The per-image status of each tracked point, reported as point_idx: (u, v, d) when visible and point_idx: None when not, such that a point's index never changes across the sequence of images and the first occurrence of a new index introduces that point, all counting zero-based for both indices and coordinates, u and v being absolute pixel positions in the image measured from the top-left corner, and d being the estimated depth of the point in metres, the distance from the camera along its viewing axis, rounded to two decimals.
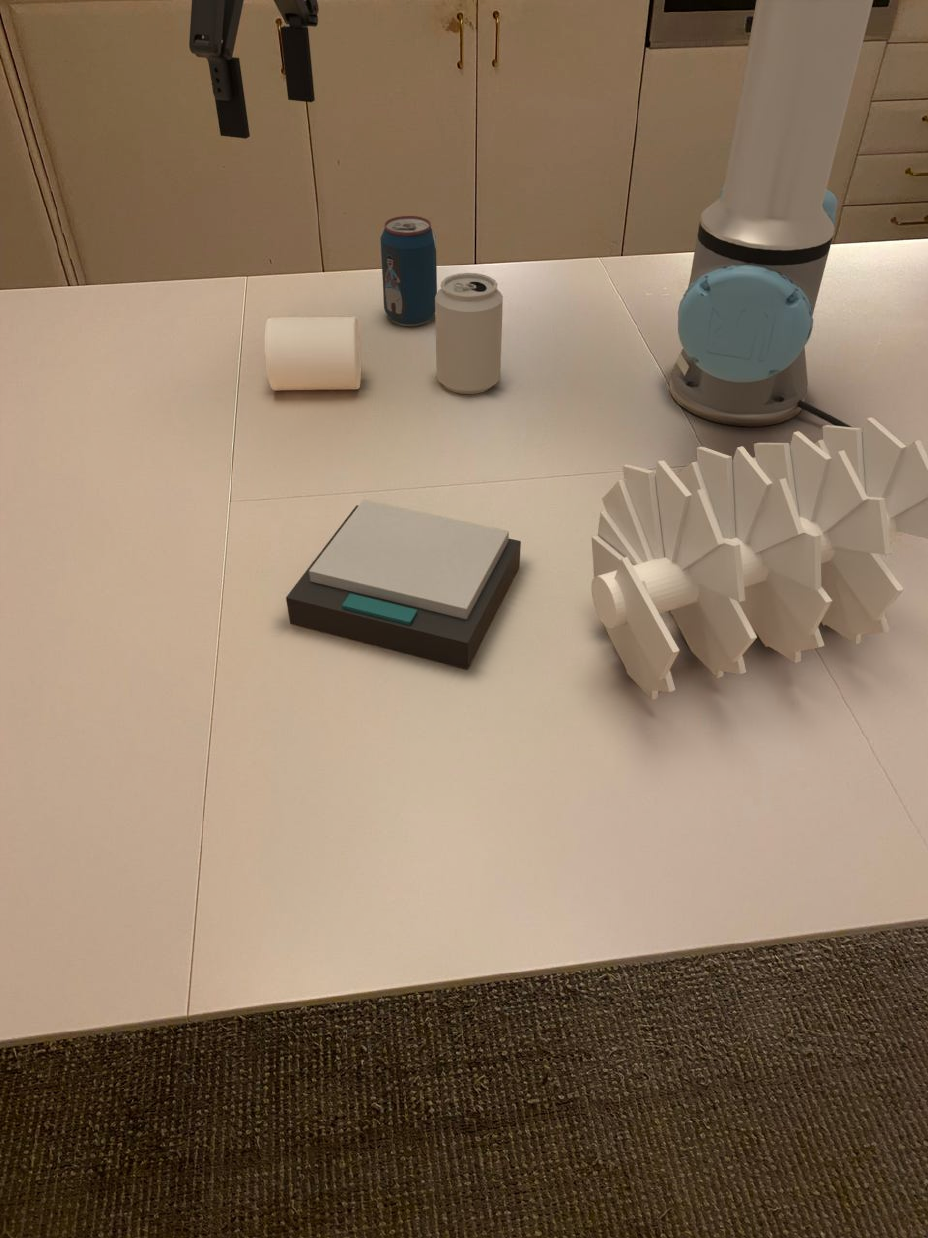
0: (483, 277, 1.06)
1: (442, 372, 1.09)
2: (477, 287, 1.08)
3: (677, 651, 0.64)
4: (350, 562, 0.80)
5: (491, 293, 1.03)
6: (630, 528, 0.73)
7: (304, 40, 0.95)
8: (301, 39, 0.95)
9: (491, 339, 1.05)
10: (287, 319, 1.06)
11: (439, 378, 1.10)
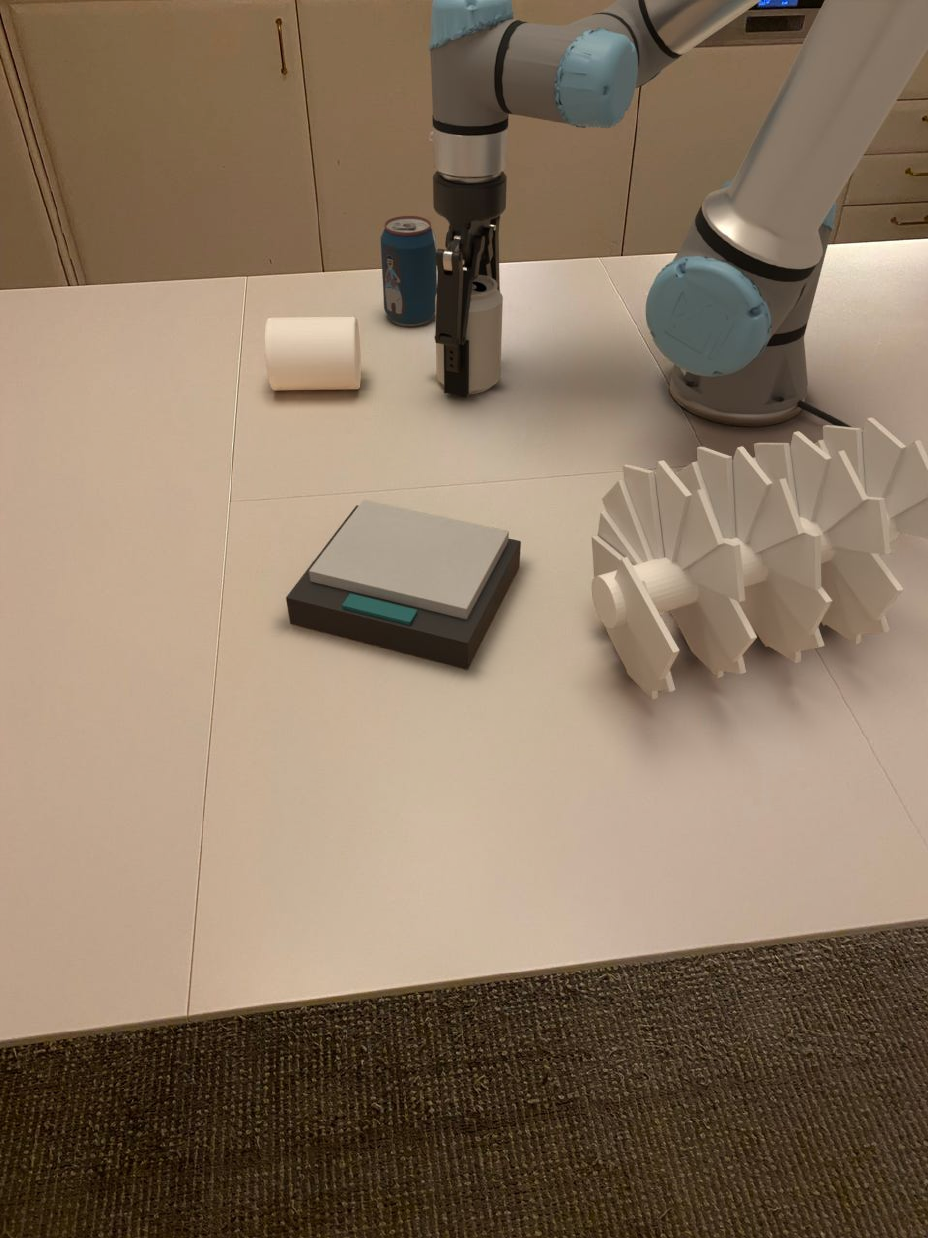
0: (483, 277, 1.06)
1: (442, 372, 1.09)
2: None
3: (677, 651, 0.64)
4: (350, 562, 0.80)
5: (491, 293, 1.03)
6: (630, 528, 0.73)
7: None
8: None
9: (491, 339, 1.05)
10: (287, 319, 1.06)
11: (439, 378, 1.10)
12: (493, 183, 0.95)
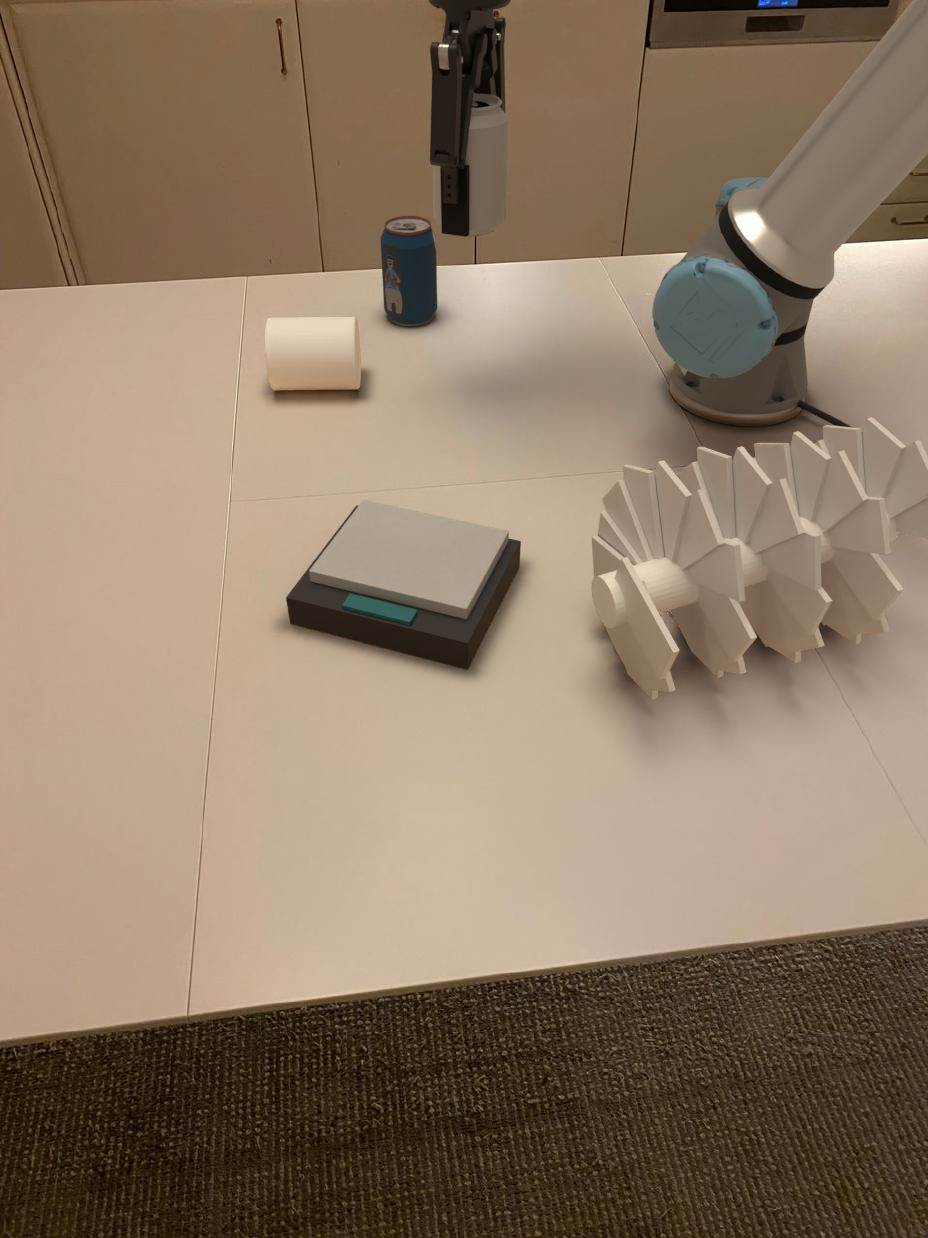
0: (485, 96, 0.93)
1: (439, 210, 0.96)
2: None
3: (677, 651, 0.64)
4: (350, 562, 0.80)
5: (494, 108, 0.90)
6: (630, 528, 0.73)
7: None
8: None
9: (495, 166, 0.92)
10: (287, 319, 1.06)
11: (436, 219, 0.97)
12: None
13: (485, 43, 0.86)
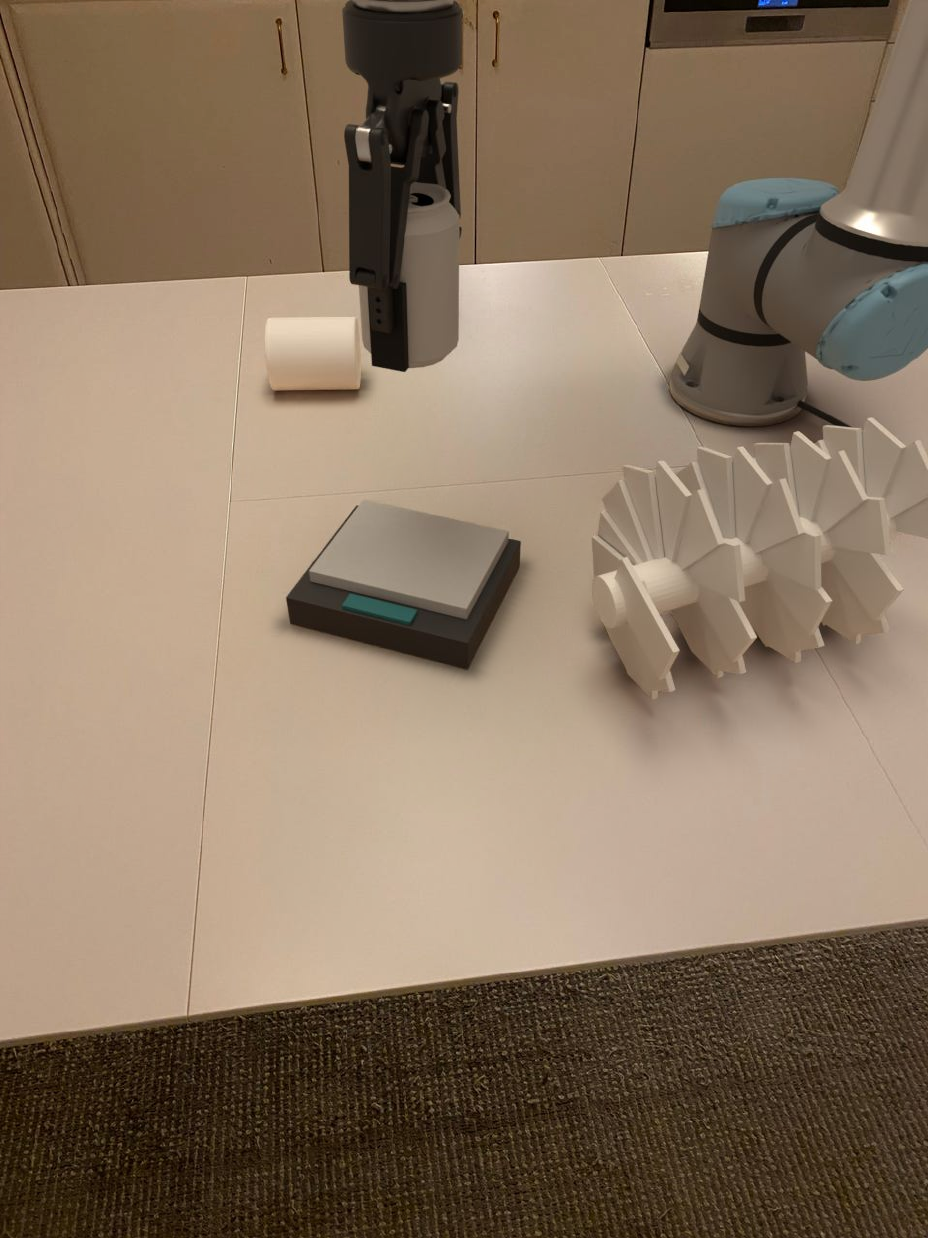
0: (430, 186, 0.69)
1: (368, 334, 0.72)
2: None
3: (677, 651, 0.64)
4: (350, 562, 0.80)
5: (439, 208, 0.66)
6: (630, 528, 0.73)
7: None
8: None
9: (440, 282, 0.68)
10: (287, 319, 1.06)
11: (365, 343, 0.73)
12: (438, 13, 0.57)
13: (425, 123, 0.62)
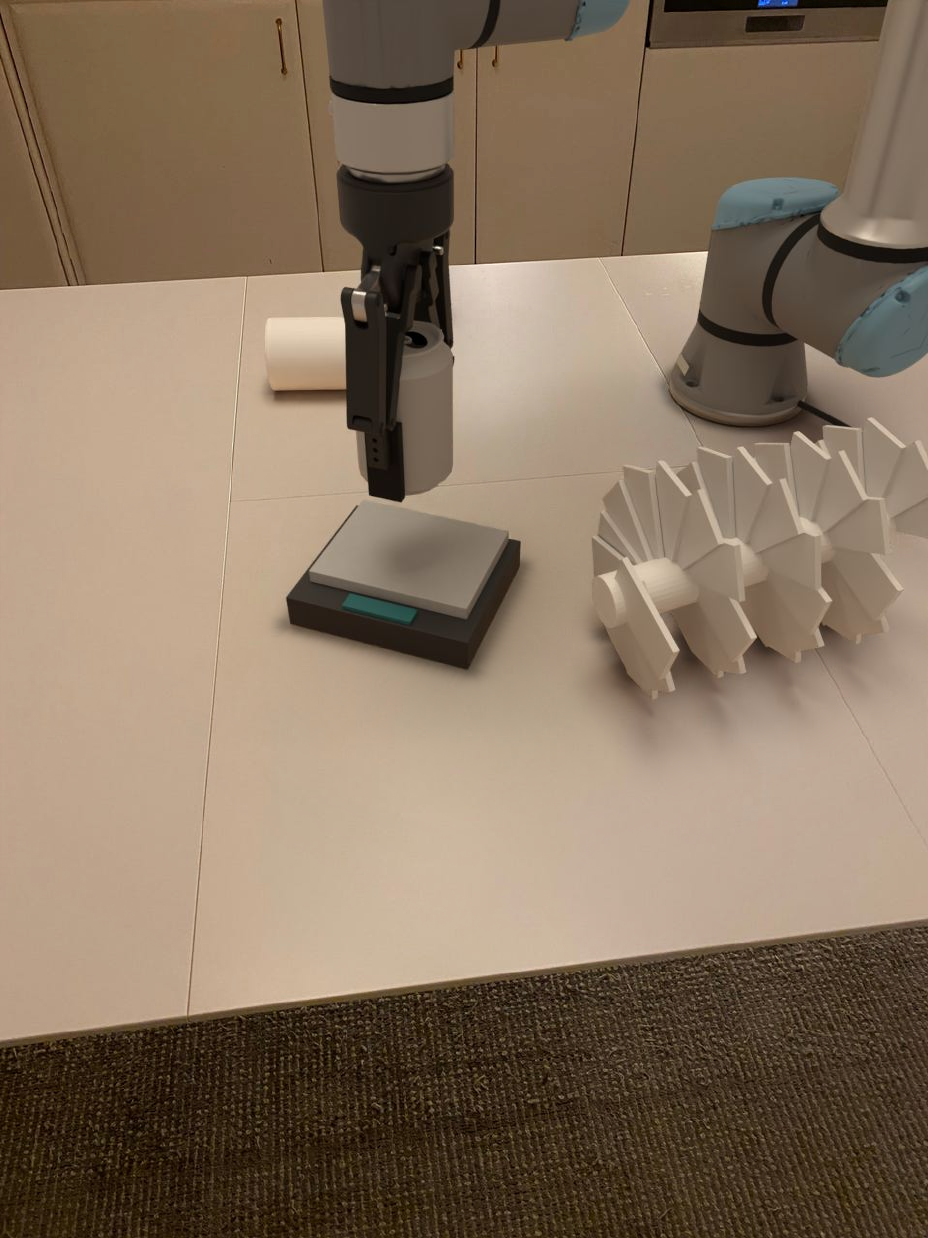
0: (423, 324, 0.70)
1: (364, 465, 0.73)
2: None
3: (677, 651, 0.64)
4: (350, 562, 0.80)
5: (433, 351, 0.67)
6: (630, 528, 0.73)
7: None
8: None
9: (435, 418, 0.70)
10: (287, 319, 1.06)
11: (361, 472, 0.74)
12: (431, 182, 0.59)
13: (419, 277, 0.64)
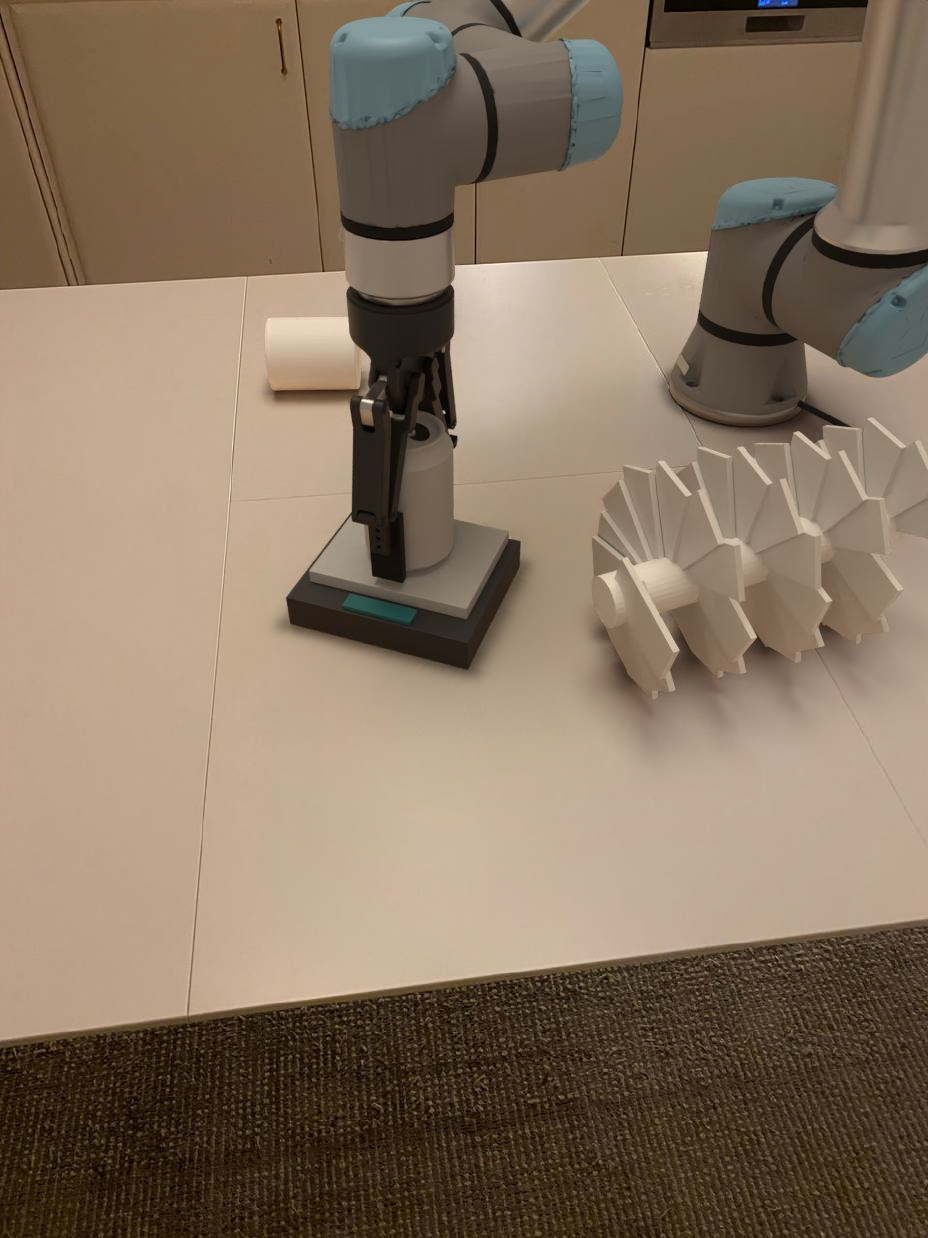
0: (426, 416, 0.75)
1: None
2: (419, 426, 0.77)
3: (677, 651, 0.64)
4: (350, 562, 0.80)
5: (435, 444, 0.72)
6: (630, 528, 0.73)
7: None
8: None
9: (437, 504, 0.75)
10: (287, 319, 1.06)
11: (368, 549, 0.79)
12: (433, 304, 0.64)
13: (422, 383, 0.69)
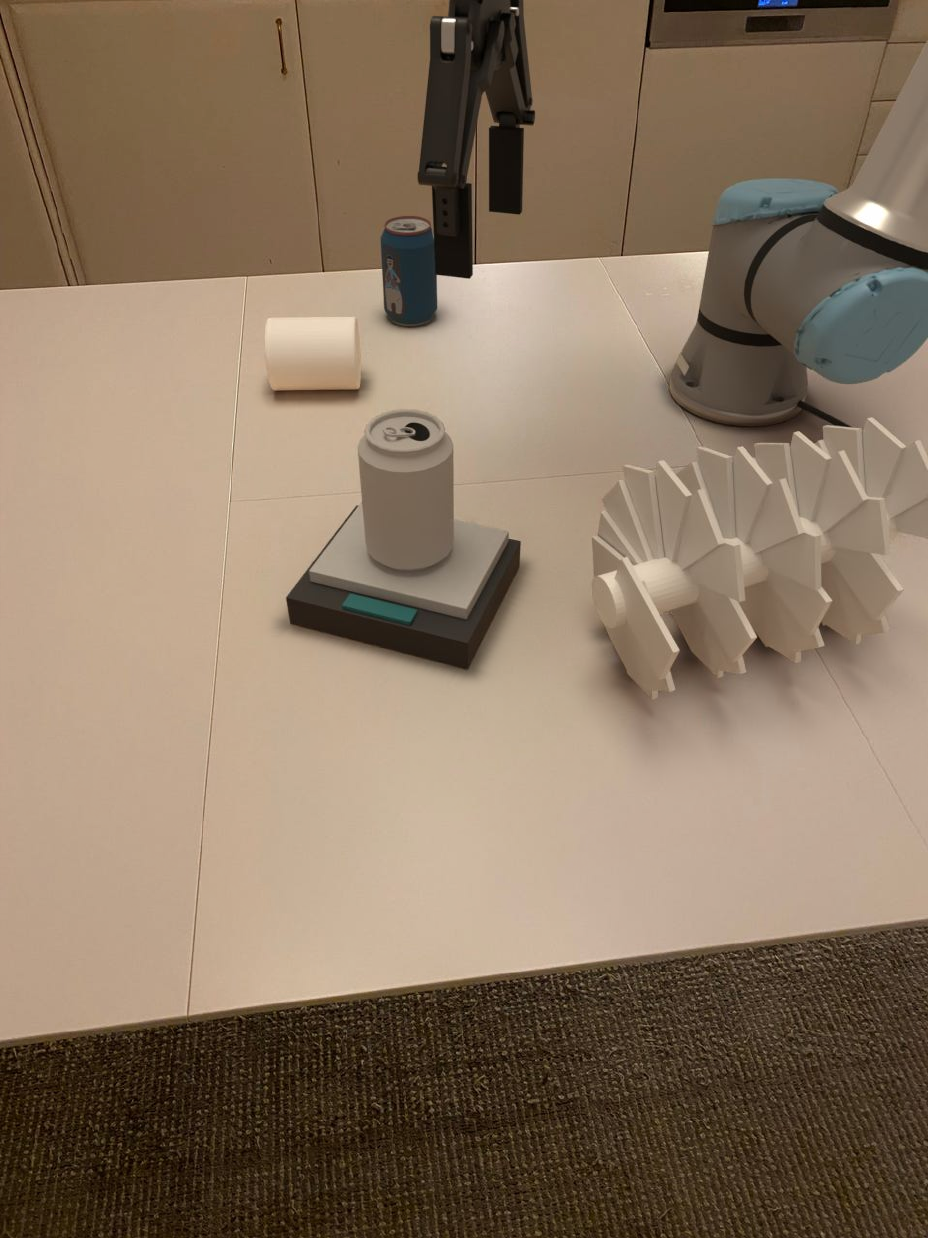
0: (426, 416, 0.75)
1: (371, 543, 0.78)
2: (419, 426, 0.77)
3: (677, 651, 0.64)
4: (350, 562, 0.80)
5: (435, 444, 0.72)
6: (630, 528, 0.73)
7: (519, 143, 0.76)
8: (515, 142, 0.76)
9: (437, 504, 0.75)
10: (287, 319, 1.06)
11: (368, 549, 0.79)
12: None
13: (502, 34, 0.65)
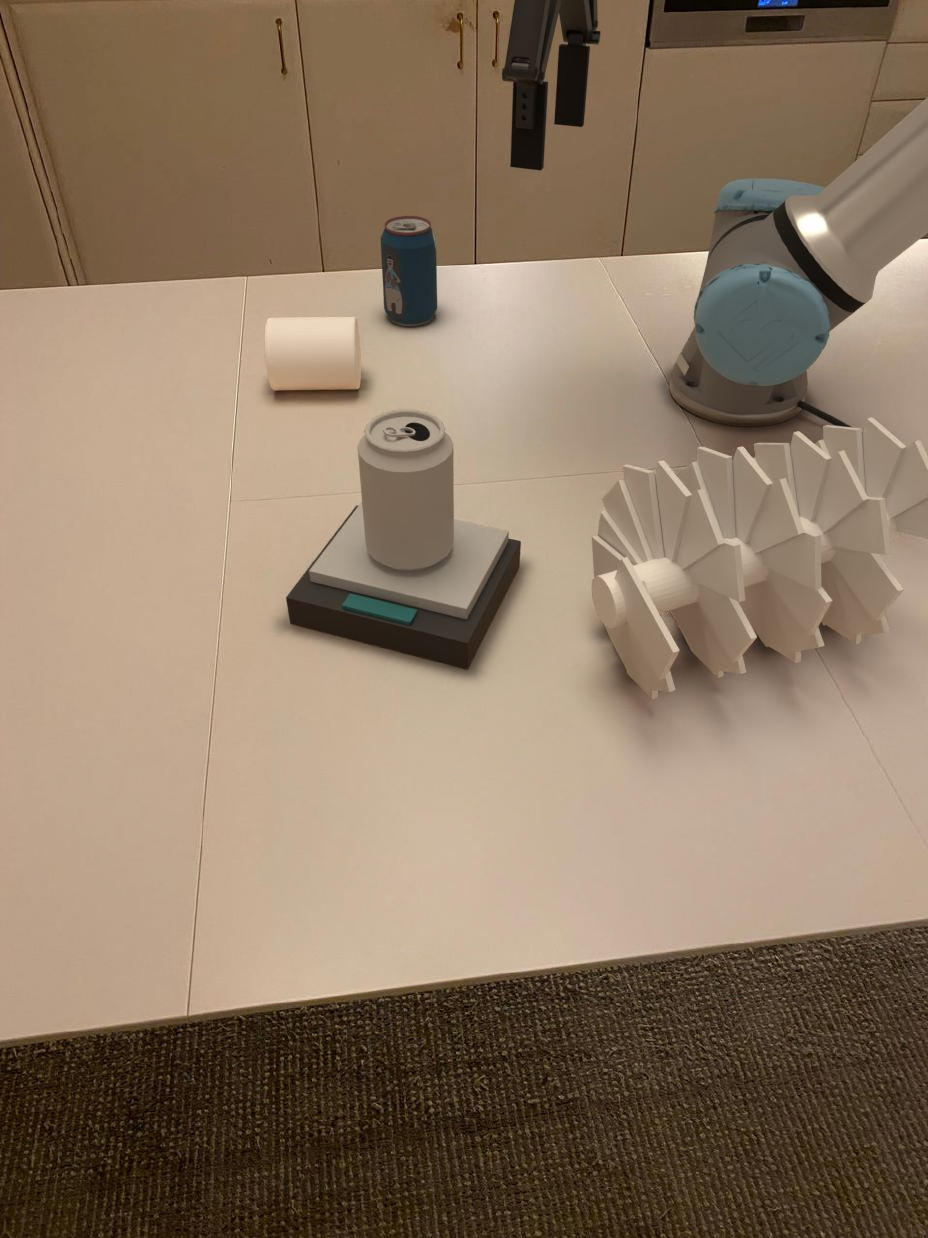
0: (426, 416, 0.75)
1: (371, 543, 0.78)
2: (419, 426, 0.77)
3: (677, 651, 0.64)
4: (350, 562, 0.80)
5: (435, 444, 0.72)
6: (630, 528, 0.73)
7: (585, 60, 0.86)
8: (582, 58, 0.86)
9: (437, 504, 0.75)
10: (287, 319, 1.06)
11: (368, 549, 0.79)
12: None
13: None
